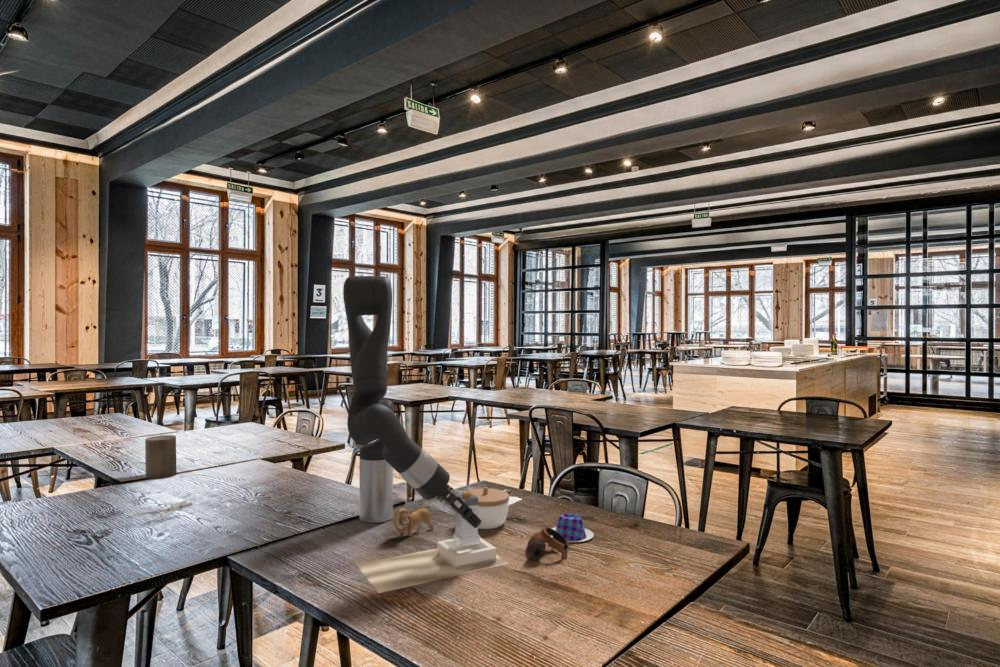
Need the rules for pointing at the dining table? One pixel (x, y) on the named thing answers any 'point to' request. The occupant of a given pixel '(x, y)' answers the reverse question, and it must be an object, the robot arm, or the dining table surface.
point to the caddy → (466, 554)
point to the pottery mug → (538, 544)
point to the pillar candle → (160, 456)
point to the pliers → (171, 510)
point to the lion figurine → (411, 520)
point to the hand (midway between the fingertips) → (474, 521)
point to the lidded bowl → (491, 507)
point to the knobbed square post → (466, 524)
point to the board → (414, 570)
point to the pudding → (572, 528)
